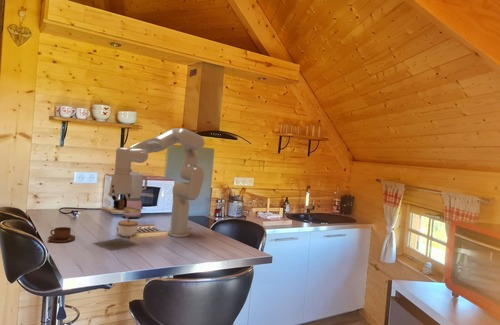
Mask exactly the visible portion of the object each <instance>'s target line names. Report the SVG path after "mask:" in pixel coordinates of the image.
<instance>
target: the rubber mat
mask: <svg viewBox="0 0 500 325" xmlns="http://www.w3.org/2000/svg"><path fill="white" fill-rule="evenodd" d="M92 244H93V245H94V246H98V247H100V248H103V249H105V250H107V251H111V252H113V251H118V250H123V249H126V248H132V247H137V246H139V244H137V243H134V242H131V241H128V240H126V239H123V238H115V239H109V240H103V241H97V242H92Z"/></svg>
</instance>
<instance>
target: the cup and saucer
mask: <svg viewBox="0 0 500 325" xmlns="http://www.w3.org/2000/svg"><path fill="white" fill-rule="evenodd" d="M71 230H72V228H71V227H67V226H63V227H61V226H60V227H56V228H54V229H51V230H50V236H48V237H47V239H48V240H49V242H53V243H68V242H72V241H74V240H75V239H76V235H73V234H71V232H72V231H71Z"/></svg>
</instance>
